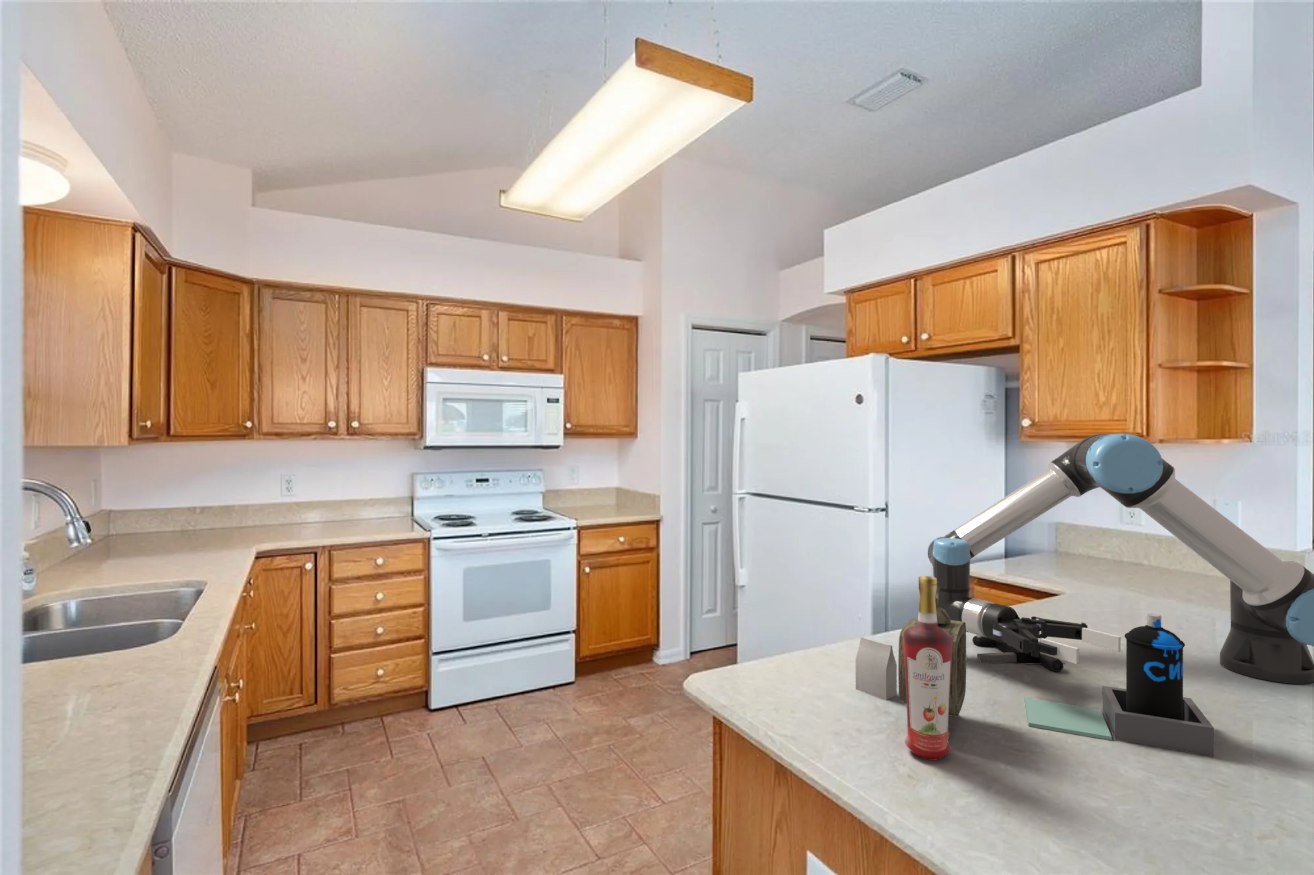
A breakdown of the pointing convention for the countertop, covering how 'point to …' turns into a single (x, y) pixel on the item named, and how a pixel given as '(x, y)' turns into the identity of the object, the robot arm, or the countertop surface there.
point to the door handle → (1014, 655)
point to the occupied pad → (1066, 718)
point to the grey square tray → (1158, 725)
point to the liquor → (927, 678)
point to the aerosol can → (1154, 670)
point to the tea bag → (876, 669)
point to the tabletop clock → (958, 658)
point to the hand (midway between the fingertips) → (1099, 650)
